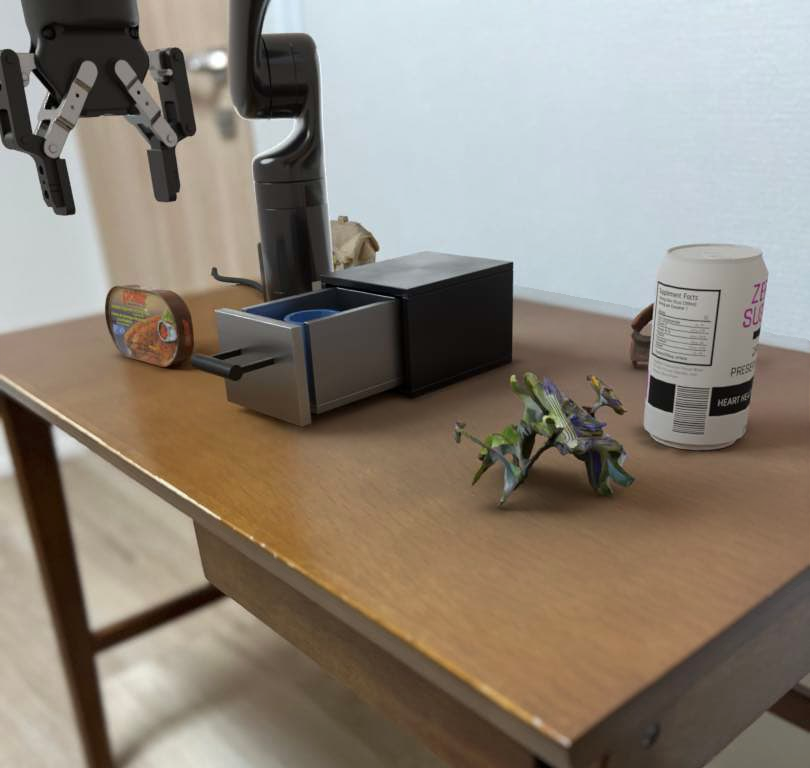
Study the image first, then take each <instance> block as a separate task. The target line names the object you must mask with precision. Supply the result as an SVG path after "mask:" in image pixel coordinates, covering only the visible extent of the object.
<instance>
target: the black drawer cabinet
mask: <svg viewBox="0 0 810 768" xmlns="http://www.w3.org/2000/svg"><path fill="white" fill-rule="evenodd" d="M320 280H321V289H324V288H329V287H333V286H337V285H338V286H344V287H350V288H355V289H361V290H367V291H373V292H378V293H384V294H390V295H396V296H401V297H402V305H403V327H404V348H405V370H406V383H405V384H402V385H399V386H397V387H394V388H391V389H388V390H385V391H384V392H386V393H390V394H392V395H393V394H394V395H398V396H401V397H404V398H407V399H411V400H413V399H416V398H419V397H422V396H424V395H426V394H429V393H432V392H435V391H437V390H440V389H443V388H446V387H448V386H451V385H454V384H456V383H459V382H462V381H464V380H467V379H469V378H472V377H475V376H478V375H481V374H484V373H486V372H490V371H491V370H494V369H498V368H500V367H502V366H505V365H509V364H510V363H513V344H514V343H513V342H514V341H513V337H514V336H513V335H514V334H513V332H514V328H513V327H514V261H512V260H511V261H510V260H502V259H494V258H487V257H485V258H484V257H477V256H470V255H461V254H454V253H453V254H452V253H446V252H444V253H443V252H436V251H429V250H425V251H420V252H416V253H410V254H407V255H402V256H397V257H394V258H388V259H384V260H380V261H375V263H371V264H366V265H362V266H357V267H353V268H348V269H344V270H339V271H335V272H330V273H326V274H322V275H320Z"/></svg>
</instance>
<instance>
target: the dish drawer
mask: <svg viewBox="0 0 810 768" xmlns="http://www.w3.org/2000/svg"><path fill="white" fill-rule="evenodd" d="M317 309H327V310H335V311H340V312H339V313H336V314H332V315H328V316H324V317H320V318H317V319H313V320H309V321H305V322H303V324H304V334H305V344H306V354H307V364H308V374H309V384H310V392H308V383H307V373H306V363H305V353H304V343H303V333H302V325H298V324H293V323H289V322H285V321H284V318H285V316H287V315H289V314H291V313H295V312H299V311H305V310H317ZM214 316H215V317H214V318H215V323H216V330H217V337H218V344H219V350H220V351H219V352H217V353H212V354H209V355H206V354H202V353H199V352H198V353H197V352H196V353H194V354H193V355H191V358H190V366H191V367H192V368H193V369H195V370H198V371H201V372H203V373H208V374H211V375H213V376H218V377H220V378H223V379H224V385H225V393H226V397H227V398H226V399H227V402H229V403H231V404H233V405H238V406H240V407H242V408H246V409H248V410H252V411H255V412H258V413H261V414H264V415H266V416H269V417H272V418H276V419H278V420H281V421H284V422H287V423H290V424H293V425H296V426H298V427H301V428H302V427H305V426H307V425H311V424H312V414H311V413H313V414H316V415H321V414H322V413H326V412H328V411H331V410H334V409H337V408H339V407H343V406H346V405H348V404H351V403H354V402H357V401H359V400H362V399H366V398H368V397H371V396H373V395H377V394H379V393H383V392H386V391H385V390H388V389H391V388H394V387H397V386H399V385H402V384H405V383H406V370H405V348H404V327H403V305H402V297H401V296H396V295H390V294H384V293H378V292H373V291H367V290H361V289H355V288H350V287H344V286H338V285H337V286H333V287H329V288H324V289H320V290H316V291H312V292H308V293H303V294H299V295H295V296H291V297H287V298H282V299H278V300H274V301H270V302H266V303H264V302H262V303H257V304H253V305H249V306H246V307H242V308H241V311H240V310H236V309H231V308H227V307H223V308H218V309H215V310H214Z"/></svg>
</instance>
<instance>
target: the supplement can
mask: <svg viewBox="0 0 810 768" xmlns="http://www.w3.org/2000/svg"><path fill="white" fill-rule="evenodd" d="M763 255H764V251H763V250H762V249H761V248H758V247H756V246H755V247H754V246H751V245H744V244H736V243H735V244H734V243H712V242H711V243H710V242H709V243H707V242H706V243H690V244H681V245H677V246H673V247H672V246H671V247H670V248H668V249H666V253H665V256H664V258H663V259H662V261H661V263H660V264H659V265H658V267H657V269H656V275H655V285H654V286H655V288H654V298H653V303H654V309H653V320H651V321H652V322H651V333H650V336H651V343H650V355H649V362H648V368H647V377H646V378H647V379H646V391H645V401H644V402H645V403H644V413H643V429H644V430H646V431H647V432H648V433H649V435H650V437H651V438H652V439H653V440H654V441H656V442H657V443H660V444H663V445H665V446H667V447H672V448H676V449H681V450H688V451H689V450H691V451H710V450H711V451H712V450H717V449H723V448H726V447H729V446H731V445H734V443H735V442H736V441H737V440H738V439H741V438H743V436H744V434H745V433H746V431H747V426H748V420H749V411H750V404H751V398H752V391H753V390H752V389H753V384H754V376H755V370H756V363H757V356H758V349H759V342H760V337H761V335H760V334H761V329H762V323H763V322H762V321H763V314H764V309H765V308H764V307H765V301H766V294H767V288H768V287H767V286H768V280H769V270H768V267H767V265H766V263H765V260H764V257H763Z"/></svg>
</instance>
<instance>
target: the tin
mask: <svg viewBox="0 0 810 768" xmlns="http://www.w3.org/2000/svg"><path fill="white" fill-rule="evenodd" d="M104 316H105V322H106V327H107V330H108V333H109V336H110V337H111V340H112V342H113V345H114V346H115V348H116V349H117V350H118V351H119V352H120V354H122V355H123V356H124V357H126V358H128V359H132V360H134V361H139V362H142V363H147V364H150V365H154V366H156V367H159V368H160V367H161V368H167V367H170V366H173V365H178V364H182V363H185V362H187V361H188V359H190V357H192V354H193V352H194V348H195V332H194V325H193V319H192V314H191V312H190V309H189V306H188V304H187V303H186V302H185V301H184V299H183V298H182V297H181V296H180V295H179V294H178V293H176V292H174V291H172V290H169V289H162V288H157V287H151V286H145V285H139V284H126V285H113V286H112V287H111V288H110V289H109V290H108V292H107V294H106V297H105V303H104Z"/></svg>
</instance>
